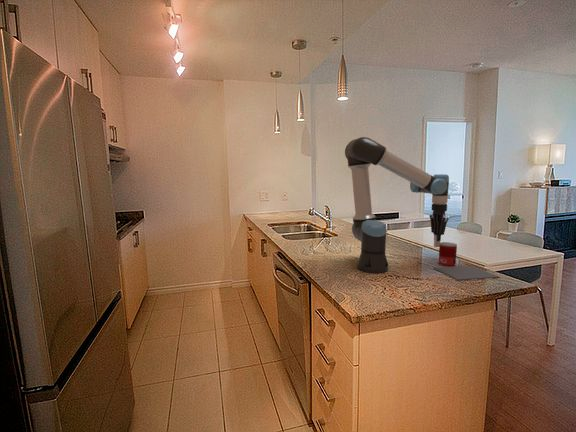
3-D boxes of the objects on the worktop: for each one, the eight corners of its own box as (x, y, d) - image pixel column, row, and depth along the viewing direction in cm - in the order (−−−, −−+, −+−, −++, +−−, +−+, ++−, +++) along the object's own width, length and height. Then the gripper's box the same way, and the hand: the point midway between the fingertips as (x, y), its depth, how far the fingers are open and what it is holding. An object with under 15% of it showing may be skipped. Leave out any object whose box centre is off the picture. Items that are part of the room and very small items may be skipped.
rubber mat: (457, 280, 142) (458, 279, 142) (433, 268, 159) (433, 267, 159) (499, 278, 145) (499, 276, 145) (470, 266, 163) (470, 265, 163)
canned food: (457, 267, 162) (459, 245, 160) (440, 266, 164) (441, 245, 162) (452, 262, 169) (454, 242, 168) (436, 262, 171) (438, 241, 169)
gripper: (454, 204, 165) (450, 249, 169) (438, 202, 178) (435, 243, 181) (441, 204, 164) (438, 249, 167) (425, 202, 177) (423, 244, 180)
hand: (436, 246), depth 174 cm, fingers closed
